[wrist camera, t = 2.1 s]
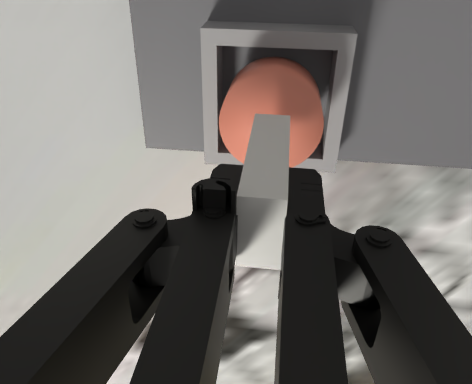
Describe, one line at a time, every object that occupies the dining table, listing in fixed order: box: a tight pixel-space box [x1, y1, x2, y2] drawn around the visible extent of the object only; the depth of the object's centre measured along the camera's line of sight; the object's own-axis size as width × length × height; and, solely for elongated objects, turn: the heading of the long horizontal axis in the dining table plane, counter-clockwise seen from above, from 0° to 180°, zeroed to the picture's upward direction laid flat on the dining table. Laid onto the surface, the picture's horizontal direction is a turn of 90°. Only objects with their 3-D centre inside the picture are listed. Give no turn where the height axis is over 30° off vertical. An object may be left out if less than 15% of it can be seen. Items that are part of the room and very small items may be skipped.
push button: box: [219, 57, 324, 167], centre depth 21 cm, size 5×5×3 cm
